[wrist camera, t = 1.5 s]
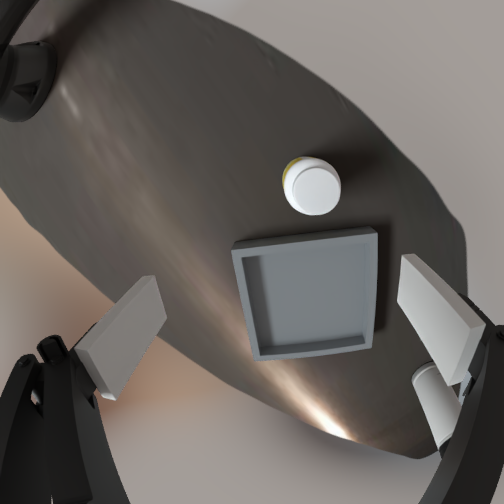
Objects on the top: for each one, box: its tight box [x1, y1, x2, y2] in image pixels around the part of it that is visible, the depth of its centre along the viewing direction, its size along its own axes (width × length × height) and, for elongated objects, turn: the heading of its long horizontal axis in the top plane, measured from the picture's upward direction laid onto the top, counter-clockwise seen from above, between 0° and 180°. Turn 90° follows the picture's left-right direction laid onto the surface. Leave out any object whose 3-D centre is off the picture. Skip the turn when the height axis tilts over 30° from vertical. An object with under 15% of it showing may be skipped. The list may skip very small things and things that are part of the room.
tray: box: [231, 226, 378, 361], centre depth 34 cm, size 17×17×3 cm
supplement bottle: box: [282, 157, 341, 215], centre depth 26 cm, size 5×5×10 cm
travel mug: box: [412, 362, 462, 458], centre depth 30 cm, size 6×7×20 cm
